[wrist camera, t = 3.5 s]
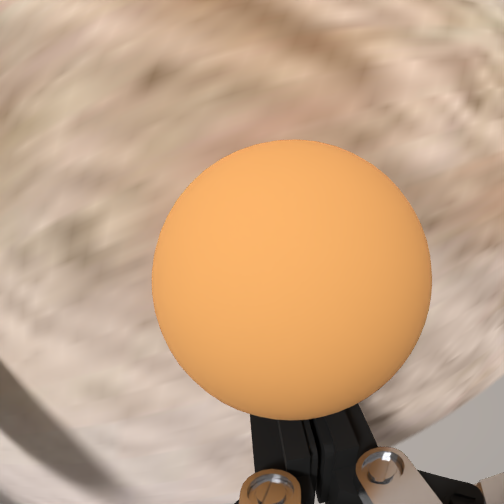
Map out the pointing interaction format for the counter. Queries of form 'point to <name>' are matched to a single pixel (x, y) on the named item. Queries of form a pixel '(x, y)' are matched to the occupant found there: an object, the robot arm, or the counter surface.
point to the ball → (291, 279)
